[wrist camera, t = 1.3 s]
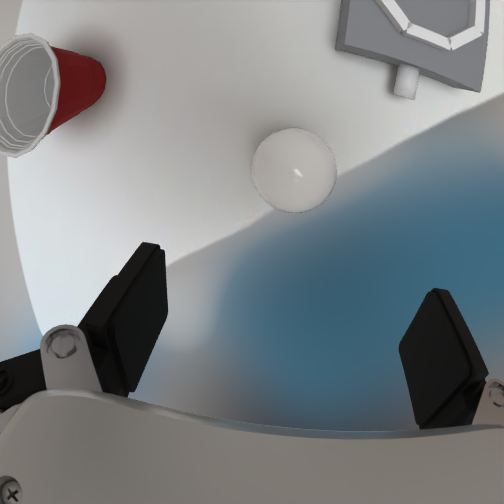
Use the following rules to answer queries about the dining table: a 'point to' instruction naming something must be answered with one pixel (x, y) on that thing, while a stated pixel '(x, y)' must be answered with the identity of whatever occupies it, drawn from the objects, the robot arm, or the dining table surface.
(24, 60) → the plastic cup
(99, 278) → the dining table surface
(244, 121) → the dining table surface
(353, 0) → the octagon ring base plate
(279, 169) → the lightbulb
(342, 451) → the robot arm
